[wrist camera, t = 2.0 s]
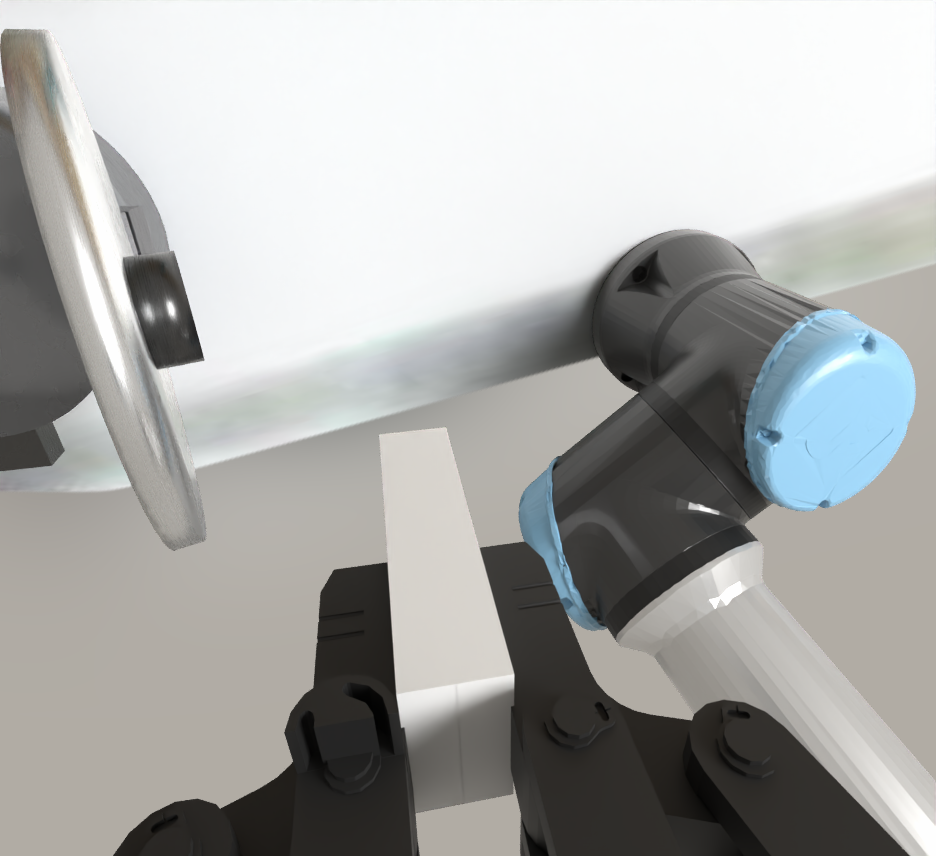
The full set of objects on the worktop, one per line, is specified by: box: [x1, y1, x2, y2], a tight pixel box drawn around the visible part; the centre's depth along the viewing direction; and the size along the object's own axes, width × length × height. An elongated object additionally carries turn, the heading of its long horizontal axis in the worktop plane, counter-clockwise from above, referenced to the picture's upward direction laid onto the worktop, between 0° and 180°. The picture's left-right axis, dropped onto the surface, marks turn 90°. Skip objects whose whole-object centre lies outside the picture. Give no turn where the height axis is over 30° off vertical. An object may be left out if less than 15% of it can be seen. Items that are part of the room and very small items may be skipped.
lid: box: [0, 29, 206, 551], centre depth 26 cm, size 22×21×3 cm
